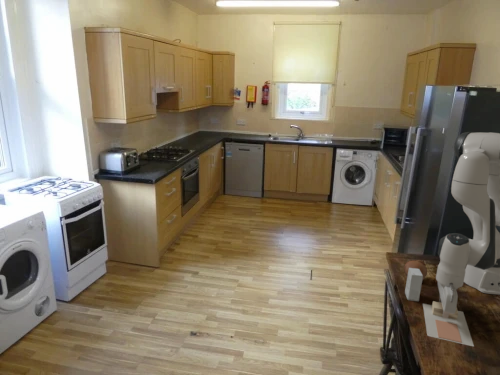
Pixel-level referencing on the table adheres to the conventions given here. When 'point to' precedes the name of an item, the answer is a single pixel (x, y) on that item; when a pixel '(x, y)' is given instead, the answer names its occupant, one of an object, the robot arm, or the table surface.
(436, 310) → the beige angular block
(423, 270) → the onion
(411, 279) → the skincare box
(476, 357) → the table surface
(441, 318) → the mat
